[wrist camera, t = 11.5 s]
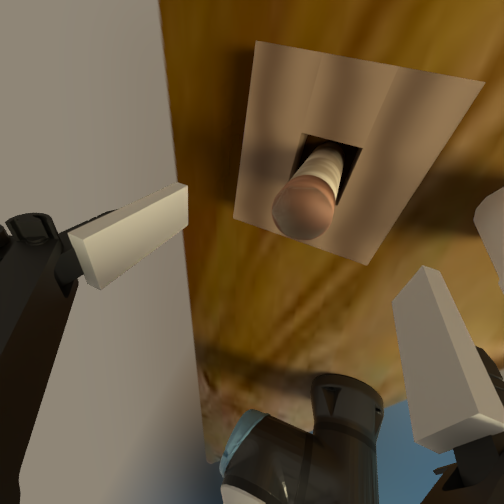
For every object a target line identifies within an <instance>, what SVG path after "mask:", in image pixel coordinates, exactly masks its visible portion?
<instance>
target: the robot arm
mask: <svg viewBox="0 0 504 504" xmlns="http://www.w3.org/2000/svg"><path fill="white" fill-rule="evenodd" d="M5 223H6V225H7V227H8V229H9V230H10V232H11V234H12V235H13V236H10V235H8V234H7V232H6V230H5V229H4V227H3V226H1V225H0V504H20V487H19V473H20V468H21V465H22V462H23V459H24V455H25V452H26V449H27V446H28V443H29V440H30V437H31V433H32V430H33V427H34V424H35V421H36V418H37V414H38V411H39V408H40V405H41V402H42V398H43V395H44V392H45V389H46V386H47V383H48V379H49V376H50V373H51V370H52V367H53V364H54V361H55V357H56V354H57V351H58V348H59V345H60V342H61V339H62V335H63V332H64V329H65V326H66V323H67V320H68V316H69V313H70V310H71V307H72V303H73V301H74V297H75V294H76V291H77V288H78V279H77V278H78V277H80V276H81V275H83V274H84V276H85V279H86V281H87V284H89V285H91V286H93V287H95V288H97V289H99V290H102V289H103V288H105V287H106V286H107V285H108V284H110V283H111V282H113V281H114V280H115V279H117V278H118V277H119V276H121V275H122V274H123V273H125V272H126V271H127V270H129V269H130V268H131V267H133V266H134V265H135V264H137V263H138V262H139V261H141V260H142V259H143V258H145V257H146V256H147V255H149V254H150V253H151V252H153V251H154V250H155V249H157V248H158V247H159V246H161V245H162V244H163V243H165V242H166V241H167V240H169V239H170V238H171V237H173V236H174V235H175V234H177V233H178V232H180V231H181V230H182V229H184V228H185V227H186V226H188V186H187V185H184V184H181V183H178V182H176V183H174V184H172V185H170V186H167V187H165V188H163V189H161V190H159V191H156V192H154V193H152V194H150V195H148V196H146V197H144V198H141V199H139V200H137V201H135V202H133V203H131V204H128V205H126V206H124V207H122V208H120V209H116V210H112V211H108V212H105V213H103V214H101V215H99V216H98V217H94V218H92V219H90V220H89V221H85V222H83V223H81V224H79V225H76V226H74V227H72V228H70V229H68V230H66V231H63V232H61V233H59V234H58V232H57V230H56V227H55V225H54V223H53V220H52V218H51V217H50V216H49V215H47V214H43V213H26V214H22V215H17V216H15V217H13V218H10V219H9V220H7V221H6V222H5ZM392 307H393V314H394V320H395V326H396V332H397V338H398V344H399V351H400V357H401V363H402V369H403V375H404V381H405V387H406V394H407V400H408V406H409V412H410V418H411V424H412V430H413V437H414V442H416V443H418V444H420V445H422V446H424V447H426V448H428V449H430V450H432V451H434V452H436V453H438V454H441V453H443V452H447V451H450V450H452V449H453V450H454V454H455V458H456V461H457V463H453V464H450V465H447V466H443V467H440V468H437V469H435V470H433V472H434V473H435V474H436V475H438V474H442V473H443V475H442V476H441V477H440V479H439V480H438V481H437V483H436V484H435V485H434V487H433V488H432V489H431V491H430V492H429V493H428V494H427V496H426V497H425V498H424V500H423V501H422V502H421V503H420V504H504V382H503V381H502V380H503V378H502V376H501V374H500V372H499V370H498V368H497V366H496V364H495V363H494V362H493V360H492V359H491V358H490V357H489V356H488V355H487V353H486V352H485V351H484V350H483V349H482V348H479V347H476V346H475V345H474V343H473V341H472V339H471V337H470V334H469V332H468V330H467V328H466V326H465V324H464V322H463V320H462V317H461V315H460V313H459V311H458V309H457V307H456V305H455V303H454V300H453V298H452V296H451V294H450V292H449V290H448V288H447V286H446V283H445V281H444V279H443V277H442V275H441V273H440V271H438V270H435V269H432V268H429V267H426V266H423V265H422V267H421V268H420V269H419V270H418V271H417V273H416V274H415V275H414V276H413V277H412V278H411V280H410V281H409V282H408V283H407V284H406V286H405V287H404V288H403V289H402V290H401V292H400V293H399V294H398V295H397V296H396V297H395V299H394V300H393V301H392ZM311 402H312V409H313V416H314V429H313V434H311V433H308V432H306V431H304V430H302V429H300V428H297V427H295V426H293V425H290V424H288V423H286V422H284V421H282V420H279V419H277V418H275V417H273V416H271V415H270V414H268V413H266V414H265V413H263V412H260V411H257V410H254V409H250V410H248V411H246V412H245V413H244V414H243V415H242V417H241V418H240V419H239V421H238V423H237V424H236V426H235V428H234V430H233V432H232V434H231V436H230V438H229V440H228V443H227V445H226V448H225V449H226V450H225V451H224V454H223V456H222V459H221V462H220V473H221V474H222V476H223V477H225V478H224V480H223V483H222V486H221V493H222V497H223V502H224V504H379V495H378V475H377V456H376V441H377V438H378V434H379V431H380V427H381V424H382V420H383V417H384V407H383V400H382V398H381V396H380V395H379V394H378V393H377V392H376V391H375V390H374V389H372V388H371V387H370V386H368V385H366V384H364V383H363V382H360V381H358V380H356V379H353V378H350V377H346V376H341V375H322V376H319V377H317V378H315V379H314V380H313V382H312V386H311Z"/></svg>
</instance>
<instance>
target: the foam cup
mask: <svg viewBox="0 0 504 504" xmlns="http://www.w3.org/2000/svg"><path fill="white" fill-rule="evenodd" d="M473 221H474V224H475V226H476V228H477V230H478V233H479V235H480V237H481V239H482V241H483V243H484V246H485V248H486V250H487V252H488V254H489V256H490V259H491V261H492V263H493V265H494V267H495V269H496V272H497V274H498V276H499V278H500V280H499V283H498V284H499V286H500V288H501V290H502V292H503V294H504V187H502V188H501V189H499V190H497V191H496V192H494V193H492V194H490V195H489V196H487V197H486V198H485V199H484V200H483V201H482V202H481V204H480V205H479V206H478V207H477V208H476V211H475V215H474V219H473Z"/></svg>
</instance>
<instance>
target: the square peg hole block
mask: <svg viewBox="0 0 504 504" xmlns="http://www.w3.org/2000/svg"><path fill="white" fill-rule="evenodd" d="M485 83H486V82H481V81H476V80H470V79H465V78H459V77H454V76H448V75H443V74H437V73H432V72H426V71H421V70H415V69H410V68H404V67H399V66H393V65H388V64H382V63H377V62H371V61H366V60H360V59H355V58H349V57H344V56H338V55H333V54H327V53H322V52H316V51H311V50H305V49H300V48H294V47H289V46H283V45H278V44H272V43H267V42H261V41H256V44H255V52H254V60H253V67H252V75H251V83H250V91H249V98H248V106H247V114H246V122H245V130H244V137H243V145H242V153H241V161H240V168H239V176H238V184H237V192H236V199H235V207H234V215H233V218H234V219H237V220H240V221H243V222H245V223H248V224H251V225H254V226H257V227H260V228H262V229H265V230H268V231H271V232H274V233H277V234H279V235H282V236H285V237H287V236H286V235H284V234H283V233H282V232H281V231H280V230H279V229H278V228H277V227H276V225H275V223H274V221H273V218H272V212H271V211H272V204H273V201H274V199H275V197H276V196H277V194H278V193H279V192H280V191H281V189H282V188H283V187H284V186H285V184H286V183H287V182H289V181H290V179H291V178H292V177H293V176H294V174H295V173H296V172H297V170H298V166H299V163H300V159H301V156H302V152H303V149H304V146H305V142H306V139H307V135H308V134H309V135H313V136H317V137H321V138H325V139H329V140H333V141H336V142H340V143H344V144H348V145H352V146H356V147H359V149H358V151H357V154H356V156H355V158H354V161H353V163H352V165H351V168H350V170H349V172H348V175H347V177H346V179H345V182H344V184H343V186H342V189H341V191H339V190H338V193H337V197H336V203H335V209H334V214H333V219H332V222H331V225H330V226H329V228H328V229H327V231H326V232H325V233H324V234H322V235H321V236H319V237H318V238H315V239H312V240H307V241H300V240H296V241H299V242H302V243H305V244H308V245H311V246H313V247H316V248H319V249H322V250H325V251H328V252H330V253H333V254H336V255H339V256H342V257H345V258H347V259H350V260H353V261H356V262H359V263H362V264H364V265H368V263H369V262H370V260H371V259H372V257H373V256H374V254H375V252H376V251H377V249H378V248H379V246H380V245H381V243H382V242H383V240H384V239H385V237H386V235H387V234H388V232H389V231H390V229H391V228H392V226H393V225H394V223H395V222H396V220H397V218H398V217H399V215H400V214H401V212H402V211H403V209H404V208H405V206H406V205H407V203H408V201H409V200H410V198H411V197H412V195H413V194H414V192H415V191H416V189H417V188H418V186H419V184H420V183H421V181H422V180H423V178H424V177H425V175H426V174H427V172H428V171H429V169H430V167H431V166H432V164H433V163H434V161H435V160H436V158H437V157H438V155H439V154H440V152H441V150H442V149H443V147H444V146H445V144H446V143H447V141H448V140H449V138H450V137H451V135H452V133H453V132H454V130H455V129H456V127H457V126H458V124H459V123H460V121H461V120H462V118H463V116H464V115H465V113H466V112H467V110H468V109H469V107H470V106H471V104H472V103H473V101H474V99H475V98H476V96H477V95H478V93H479V92H480V90H481V89H482V87H483V86H484V84H485ZM288 238H289V237H288ZM291 239H292V238H291ZM294 240H295V239H294Z"/></svg>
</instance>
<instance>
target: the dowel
mask: <svg viewBox="0 0 504 504" xmlns="http://www.w3.org/2000/svg"><path fill="white" fill-rule="evenodd" d="M344 161H345V155H344V152H343V150H342V148H341V147H340V146H339V145H337V144H335V143H330V142H328V143H323V144H321V145H319V146H318V147H317V148H316V149H315V150H314V151H313V152H312V153H311V155H310V156H309V157H308V158H307V160H306V161H305V162H304V163H303V164H302V166H301V167H300V168H299V169H298V171H297V172H296V173H295V174H294V176H293V177H292V178H291V179H290V181H289V182H287V183H286V184H285V186H284V187H283V188H282V189H281V191H280V192H279V193H278V194H277V196H276V197H275V199H274V201H273V204H272V211H271V212H272V218H273V221H274V223H275V225H276V227H277V228H278V229H279V230H280V231H281V232H282V233H283V234H284V235H286V236H287V237H289V238H292V239H295V240H300V241H307V240H312V239H315V238H318V237H319V236H321V235H322V234H324V233H325V232H326V231H327V229H328V228H329V226H330V225H331V222H332V219H333V214H334V209H335V203H336V197H337V193H338V188H339V184H340V179H341V175H342V170H343V166H344Z"/></svg>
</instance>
